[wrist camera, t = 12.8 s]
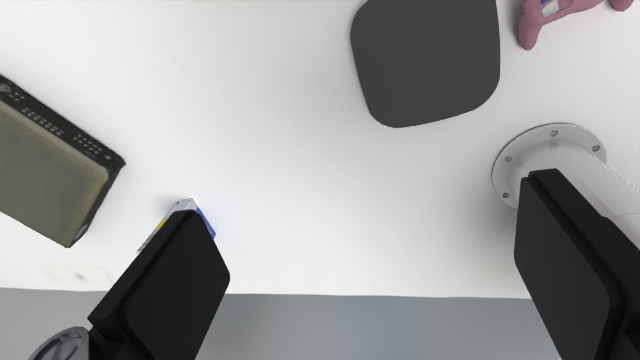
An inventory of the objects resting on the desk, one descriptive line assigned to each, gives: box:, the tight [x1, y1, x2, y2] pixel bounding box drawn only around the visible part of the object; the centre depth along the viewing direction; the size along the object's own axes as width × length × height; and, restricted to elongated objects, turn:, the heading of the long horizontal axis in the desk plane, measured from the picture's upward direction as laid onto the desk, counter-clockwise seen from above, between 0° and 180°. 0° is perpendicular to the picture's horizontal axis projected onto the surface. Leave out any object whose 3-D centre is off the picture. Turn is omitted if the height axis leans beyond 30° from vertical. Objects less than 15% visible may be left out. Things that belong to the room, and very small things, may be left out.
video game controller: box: [518, 0, 634, 50], centre depth 32 cm, size 10×5×7 cm, turn 117°
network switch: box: [0, 76, 126, 248], centre depth 52 cm, size 23×23×5 cm
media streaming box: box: [351, 0, 500, 128], centre depth 37 cm, size 15×15×3 cm
